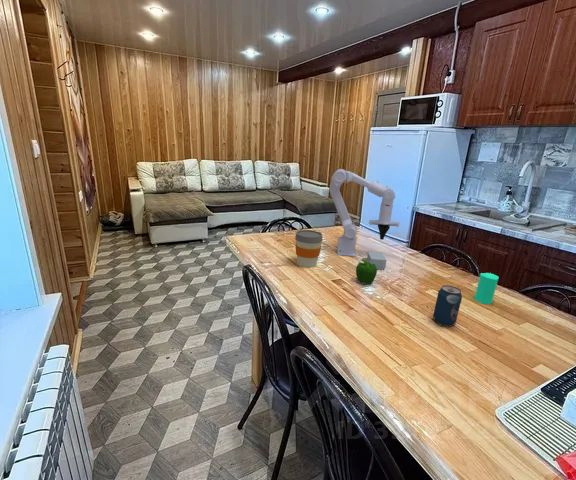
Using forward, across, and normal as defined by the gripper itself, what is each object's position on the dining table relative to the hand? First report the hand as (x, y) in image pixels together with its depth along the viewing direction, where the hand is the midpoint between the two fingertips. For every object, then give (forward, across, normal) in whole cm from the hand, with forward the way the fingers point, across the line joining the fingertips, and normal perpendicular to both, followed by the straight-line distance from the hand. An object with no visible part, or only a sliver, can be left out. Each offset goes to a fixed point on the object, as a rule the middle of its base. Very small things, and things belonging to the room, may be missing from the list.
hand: (381, 239), depth 159 cm
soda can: (+10, +10, -60) cm, 62 cm away
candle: (+10, +32, -41) cm, 53 cm away
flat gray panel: (+10, -5, -11) cm, 16 cm away
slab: (+8, 0, -11) cm, 13 cm away
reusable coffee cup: (+10, -37, -18) cm, 42 cm away
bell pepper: (+10, -12, -33) cm, 37 cm away
